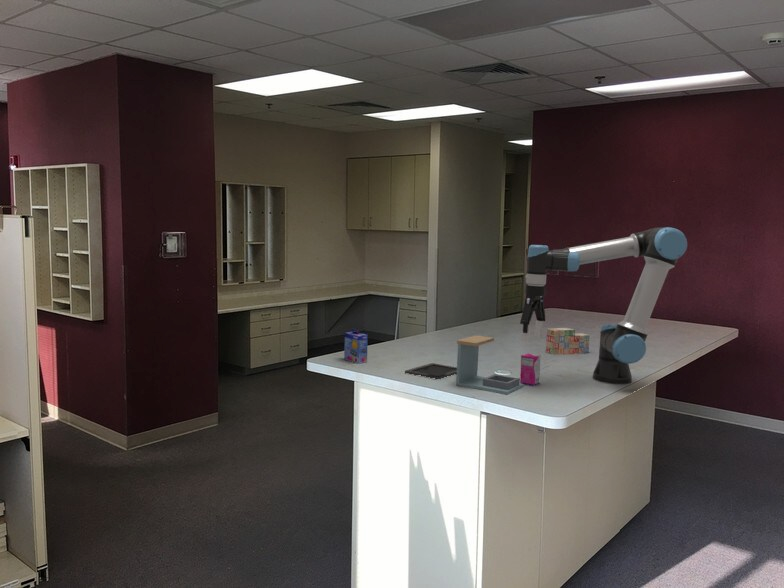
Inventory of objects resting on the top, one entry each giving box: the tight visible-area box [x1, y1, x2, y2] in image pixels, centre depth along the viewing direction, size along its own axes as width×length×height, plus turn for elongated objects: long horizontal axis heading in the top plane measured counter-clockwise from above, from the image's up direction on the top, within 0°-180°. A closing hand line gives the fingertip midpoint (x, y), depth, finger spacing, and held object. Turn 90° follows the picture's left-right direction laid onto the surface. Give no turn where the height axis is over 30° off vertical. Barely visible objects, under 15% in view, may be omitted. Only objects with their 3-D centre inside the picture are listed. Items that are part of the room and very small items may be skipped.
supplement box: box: [519, 353, 541, 387], centre depth 258 cm, size 6×6×12 cm
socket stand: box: [455, 335, 525, 395], centre depth 252 cm, size 22×16×17 cm
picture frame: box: [404, 362, 457, 380], centre depth 273 cm, size 16×2×21 cm
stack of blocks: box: [545, 327, 590, 356], centre depth 328 cm, size 21×6×12 cm, turn 112°
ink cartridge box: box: [343, 327, 369, 364], centre depth 288 cm, size 10×6×14 cm, turn 44°
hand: (531, 339), depth 257 cm, fingers open, 13 cm apart
